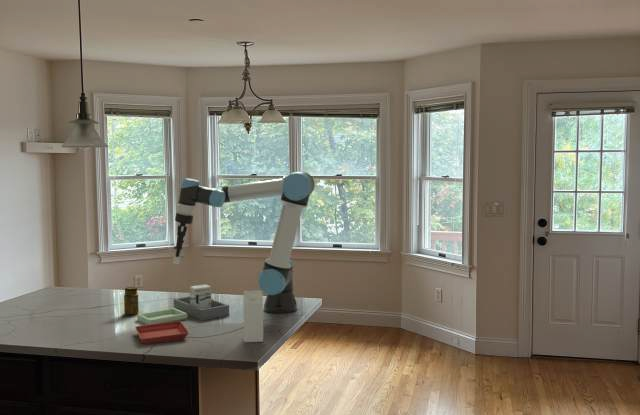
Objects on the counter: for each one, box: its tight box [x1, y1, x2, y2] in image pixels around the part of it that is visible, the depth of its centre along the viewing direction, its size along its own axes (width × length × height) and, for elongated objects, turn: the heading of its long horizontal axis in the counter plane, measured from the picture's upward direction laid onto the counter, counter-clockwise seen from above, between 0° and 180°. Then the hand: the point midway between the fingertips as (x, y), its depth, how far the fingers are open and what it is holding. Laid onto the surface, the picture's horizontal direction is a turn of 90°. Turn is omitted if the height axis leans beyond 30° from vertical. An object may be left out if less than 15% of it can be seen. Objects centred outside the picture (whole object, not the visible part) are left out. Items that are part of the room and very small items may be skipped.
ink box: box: [189, 283, 212, 309], centre depth 269 cm, size 8×5×12 cm, turn 123°
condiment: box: [122, 286, 141, 318], centre depth 264 cm, size 7×8×12 cm
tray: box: [136, 307, 189, 325], centre depth 256 cm, size 13×17×2 cm
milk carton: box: [242, 290, 264, 343], centre depth 226 cm, size 7×7×19 cm
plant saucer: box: [135, 320, 190, 345], centre depth 231 cm, size 18×18×3 cm
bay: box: [173, 295, 230, 321], centre depth 269 cm, size 27×14×4 cm, turn 40°
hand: (176, 260), depth 263 cm, fingers open, 13 cm apart
